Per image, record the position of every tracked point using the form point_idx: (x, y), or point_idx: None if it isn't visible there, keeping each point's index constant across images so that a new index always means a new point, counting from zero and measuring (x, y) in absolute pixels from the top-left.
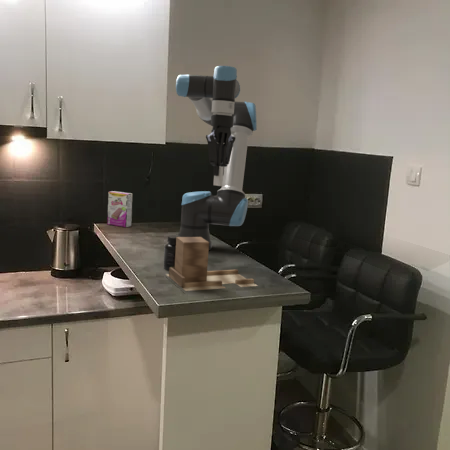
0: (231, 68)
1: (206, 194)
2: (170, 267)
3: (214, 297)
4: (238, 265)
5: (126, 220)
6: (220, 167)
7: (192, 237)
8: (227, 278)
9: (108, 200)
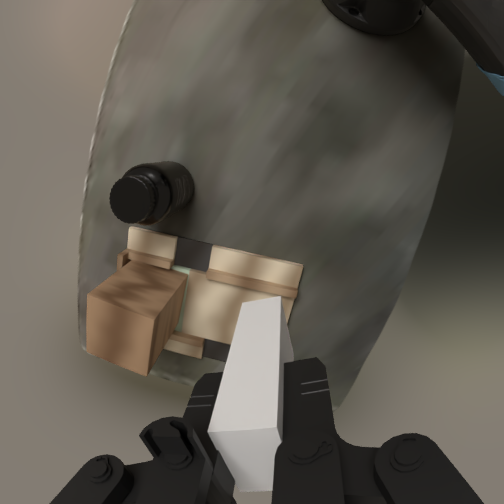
0: None
1: None
2: (119, 255)
3: (165, 367)
4: (372, 206)
5: None
6: (240, 483)
7: (126, 317)
8: None
9: None
